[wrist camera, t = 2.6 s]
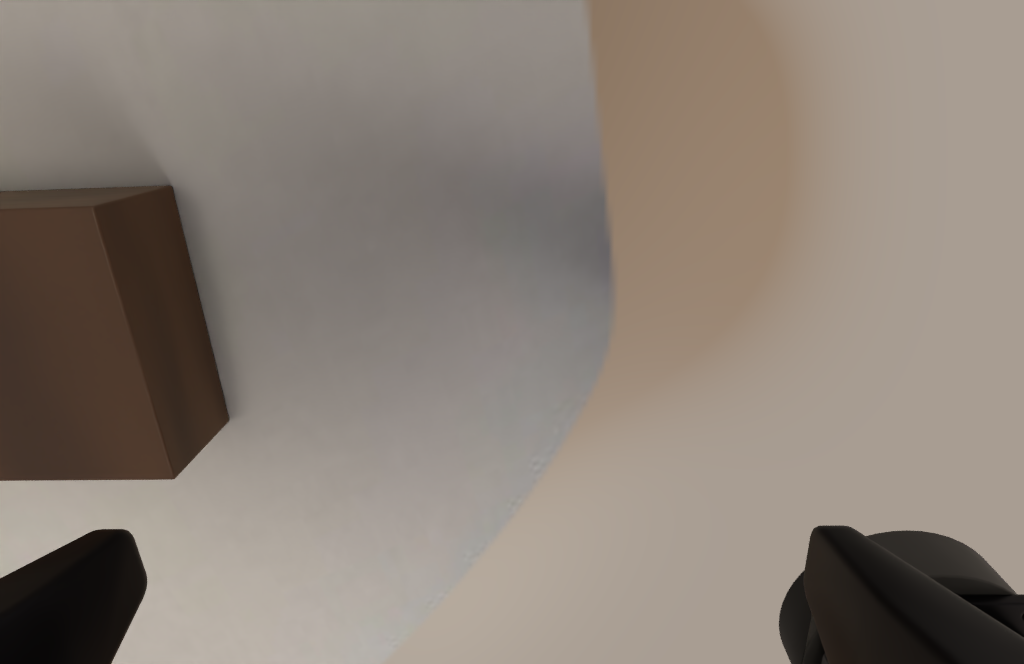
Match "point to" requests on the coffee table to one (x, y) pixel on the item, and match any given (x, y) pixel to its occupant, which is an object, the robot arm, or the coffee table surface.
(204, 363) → the walnut block
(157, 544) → the coffee table surface
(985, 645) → the robot arm
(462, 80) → the coffee table surface
